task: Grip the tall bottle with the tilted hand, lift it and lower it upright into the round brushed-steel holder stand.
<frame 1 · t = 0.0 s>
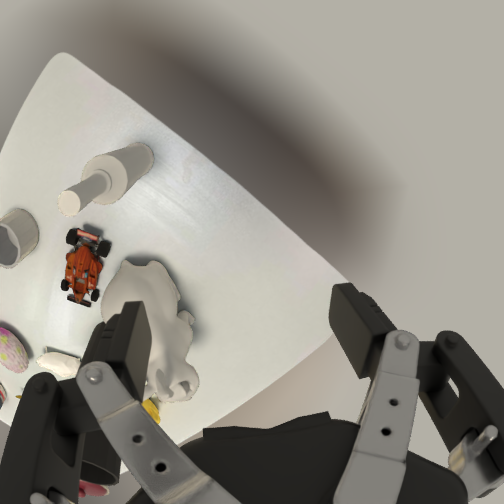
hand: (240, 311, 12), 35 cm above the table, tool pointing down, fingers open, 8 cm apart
rabbit: (159, 300, 52), on the table
bottle: (138, 158, 41), on the table
vase: (116, 339, 54), on the table
toy car: (84, 265, 47), on the table
stand: (22, 230, 42), on the table
teapot: (130, 401, 63), on the table
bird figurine: (65, 355, 55), on the table
canister: (88, 443, 71), on the table
decorative item: (15, 339, 51), on the table
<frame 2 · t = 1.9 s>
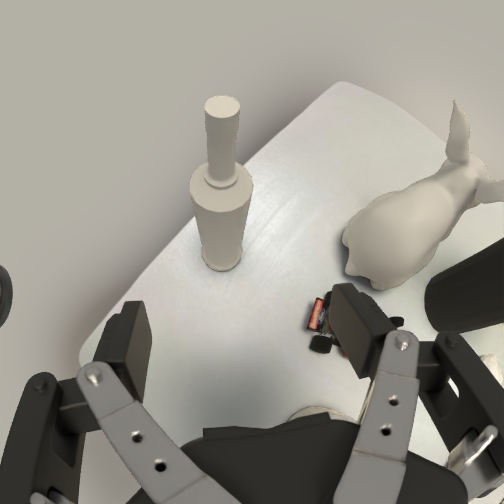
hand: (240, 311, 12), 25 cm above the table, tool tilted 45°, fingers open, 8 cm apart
rabbit: (389, 242, 42), on the table
bottle: (221, 254, 39), on the table
vase: (446, 304, 40), on the table
toy car: (359, 337, 37), on the table
stand: (313, 435, 32), on the table
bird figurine: (476, 383, 35), on the table
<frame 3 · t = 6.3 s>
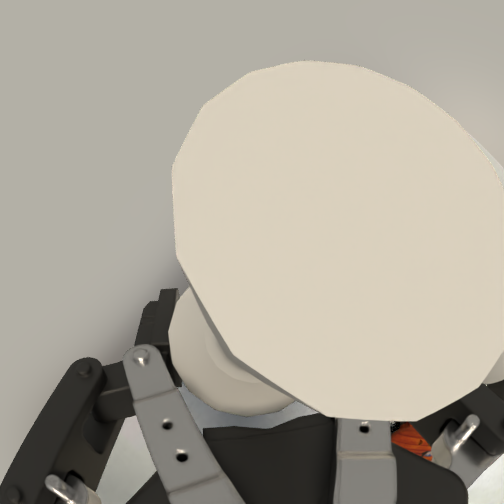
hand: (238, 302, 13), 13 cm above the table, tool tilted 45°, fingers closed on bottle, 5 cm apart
rabbit: (456, 310, 28), on the table
bottle: (234, 351, 25), on the table, touching gripper
toy car: (415, 441, 22), on the table
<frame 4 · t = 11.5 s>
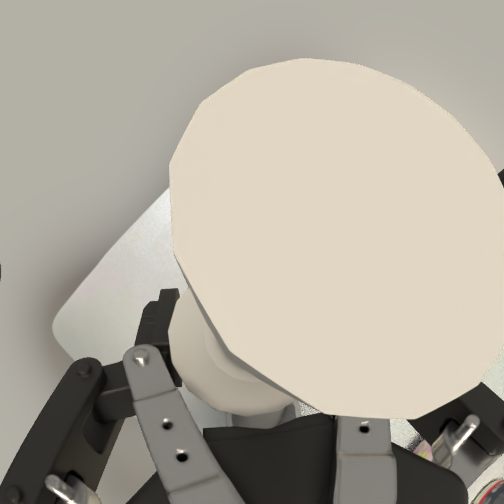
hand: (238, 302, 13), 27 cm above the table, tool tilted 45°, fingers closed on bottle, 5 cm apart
bottle: (234, 351, 25), point 14 cm above the table, touching gripper
supplement tub: (483, 503, 29), on the table
stand: (257, 407, 36), on the table
decorative item: (423, 451, 34), on the table
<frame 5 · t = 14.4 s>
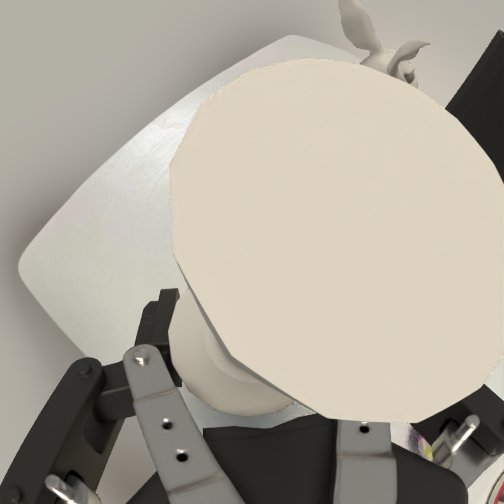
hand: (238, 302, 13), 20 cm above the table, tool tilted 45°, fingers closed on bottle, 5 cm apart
rabbit: (326, 157, 42), on the table
bottle: (234, 351, 25), point 7 cm above the table, touching gripper
vase: (399, 222, 39), on the table
when the fingers open (14 cm above the table, at t = 16.7 s): bottle stays where it is, resting on stand.
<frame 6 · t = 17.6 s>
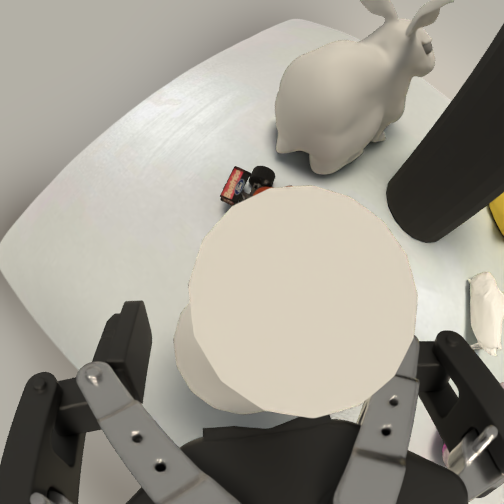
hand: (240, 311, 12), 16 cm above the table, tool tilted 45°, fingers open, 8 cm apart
rabbit: (337, 136, 37), on the table
bottle: (233, 353, 26), resting on stand
vase: (418, 206, 34), on the table
toy car: (298, 226, 32), on the table
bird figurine: (472, 313, 30), on the table
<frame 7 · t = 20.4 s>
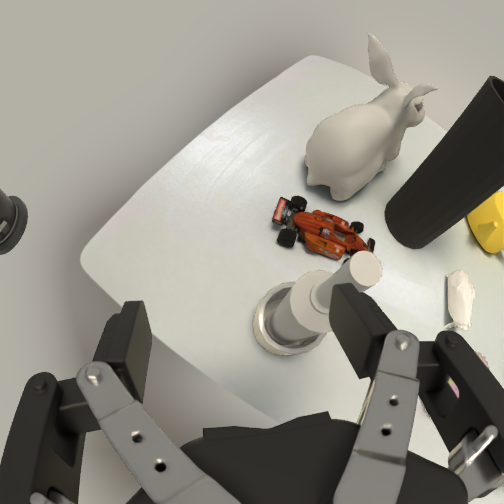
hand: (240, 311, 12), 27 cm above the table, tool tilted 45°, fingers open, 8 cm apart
rabbit: (349, 168, 50), on the table
bottle: (283, 326, 39), resting on stand
vase: (408, 222, 47), on the table
toy car: (323, 238, 45), on the table
stand: (283, 325, 39), on the table
teapot: (483, 232, 49), on the table
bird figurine: (450, 300, 43), on the table
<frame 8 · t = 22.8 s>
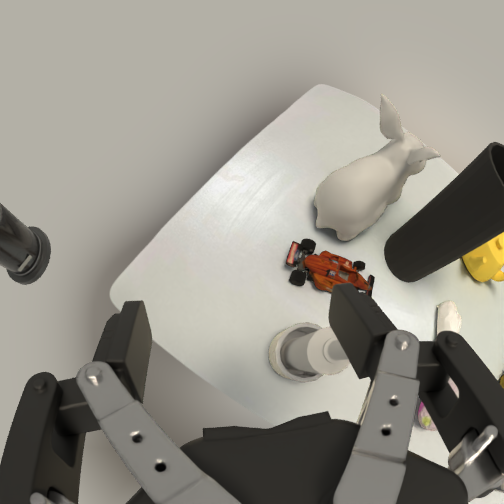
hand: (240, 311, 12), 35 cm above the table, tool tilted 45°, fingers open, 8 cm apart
rabbit: (353, 207, 56), on the table
bottle: (294, 354, 45), resting on stand
vase: (405, 257, 53), on the table
toy car: (329, 276, 50), on the table
stand: (294, 353, 45), on the table
teapot: (474, 261, 55), on the table
olive yellow toy bird: (500, 382, 45), on the table
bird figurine: (439, 327, 49), on the table
decorative item: (432, 401, 43), on the table
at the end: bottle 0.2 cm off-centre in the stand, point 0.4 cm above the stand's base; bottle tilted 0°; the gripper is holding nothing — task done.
